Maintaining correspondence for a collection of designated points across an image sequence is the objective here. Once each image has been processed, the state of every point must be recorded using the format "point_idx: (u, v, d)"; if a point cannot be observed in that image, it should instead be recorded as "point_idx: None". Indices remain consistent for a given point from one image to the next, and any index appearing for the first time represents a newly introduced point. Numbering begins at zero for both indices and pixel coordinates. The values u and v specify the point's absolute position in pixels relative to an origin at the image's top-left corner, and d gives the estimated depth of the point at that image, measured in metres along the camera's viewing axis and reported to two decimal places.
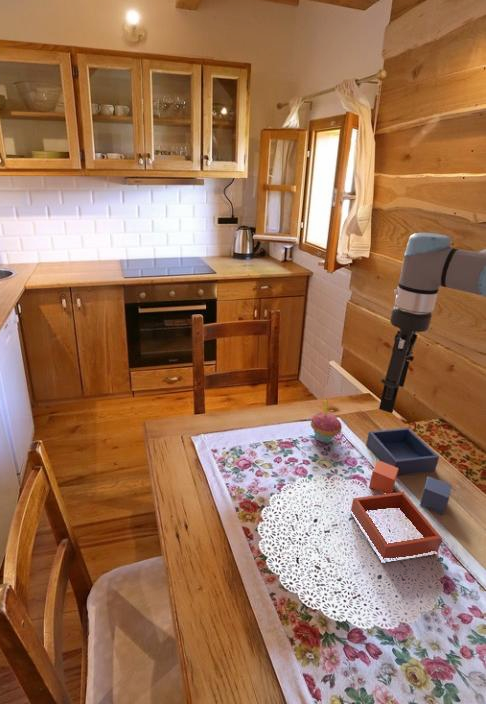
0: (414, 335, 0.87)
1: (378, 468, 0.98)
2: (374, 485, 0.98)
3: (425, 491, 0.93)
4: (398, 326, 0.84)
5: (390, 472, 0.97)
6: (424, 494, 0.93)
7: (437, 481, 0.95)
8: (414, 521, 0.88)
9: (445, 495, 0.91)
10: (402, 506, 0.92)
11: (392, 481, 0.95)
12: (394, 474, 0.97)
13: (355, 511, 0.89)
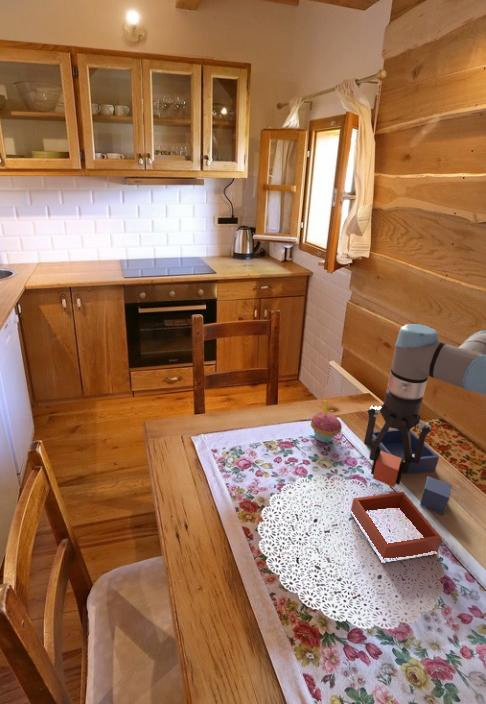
0: None
1: (381, 459, 0.97)
2: (378, 476, 0.97)
3: (425, 491, 0.93)
4: (416, 413, 0.89)
5: (394, 462, 0.96)
6: (424, 494, 0.93)
7: (437, 481, 0.95)
8: (414, 521, 0.88)
9: (445, 495, 0.91)
10: (402, 506, 0.92)
11: (396, 471, 0.94)
12: (398, 464, 0.96)
13: (355, 511, 0.89)
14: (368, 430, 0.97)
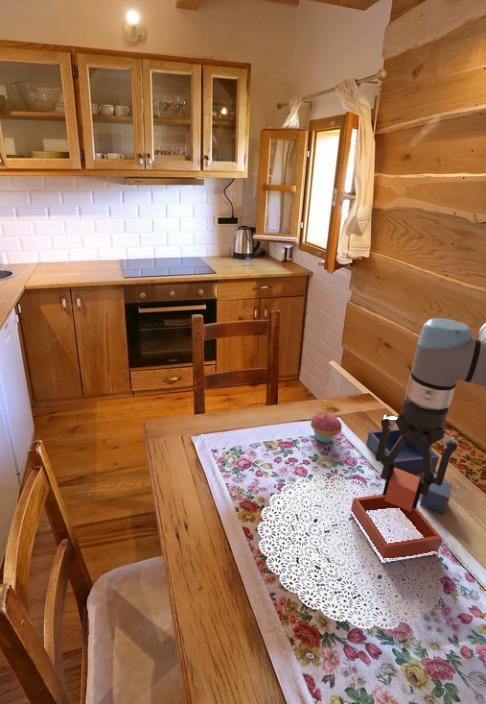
0: None
1: (395, 478, 0.82)
2: (391, 498, 0.82)
3: None
4: (441, 426, 0.74)
5: (411, 482, 0.81)
6: None
7: None
8: (414, 521, 0.88)
9: (445, 495, 0.91)
10: None
11: (413, 494, 0.79)
12: (415, 485, 0.80)
13: (355, 511, 0.89)
14: (381, 444, 0.81)
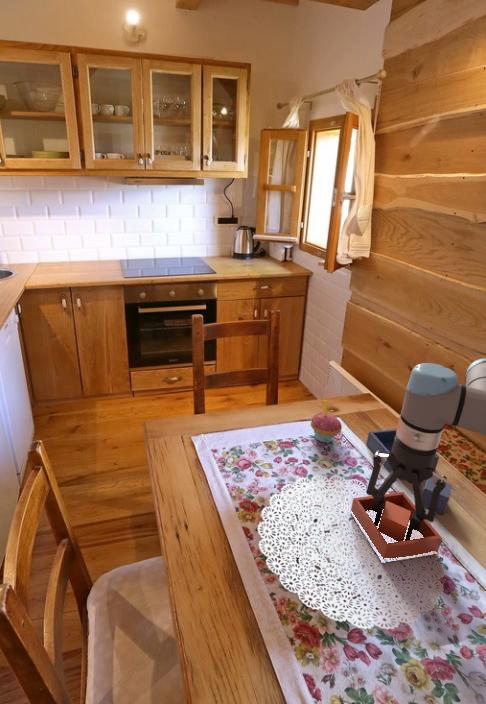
0: None
1: (387, 512, 0.85)
2: (383, 531, 0.85)
3: (425, 491, 0.93)
4: (430, 466, 0.77)
5: (402, 517, 0.84)
6: (424, 494, 0.93)
7: None
8: None
9: (445, 495, 0.91)
10: (402, 506, 0.92)
11: (404, 528, 0.82)
12: (406, 520, 0.84)
13: (355, 511, 0.89)
14: (372, 479, 0.85)
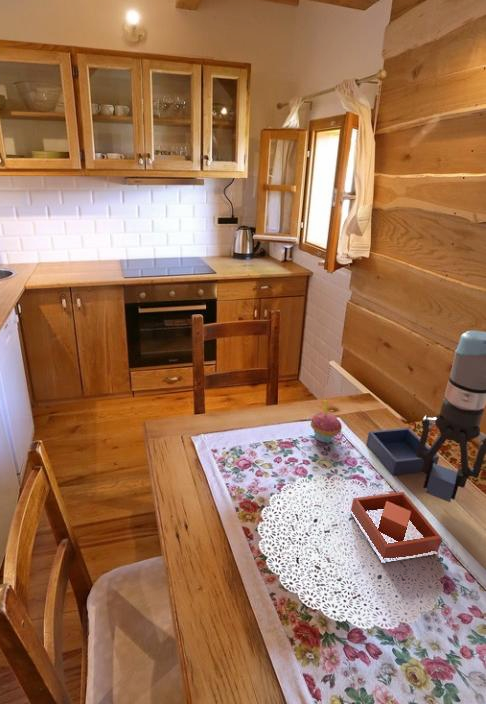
0: None
1: (387, 512, 0.85)
2: (383, 531, 0.85)
3: (431, 478, 0.91)
4: (477, 425, 0.84)
5: (402, 517, 0.84)
6: (430, 481, 0.92)
7: (443, 468, 0.94)
8: (414, 521, 0.88)
9: (451, 482, 0.90)
10: (402, 506, 0.92)
11: (404, 528, 0.82)
12: (406, 520, 0.84)
13: (355, 511, 0.89)
14: (421, 442, 0.92)
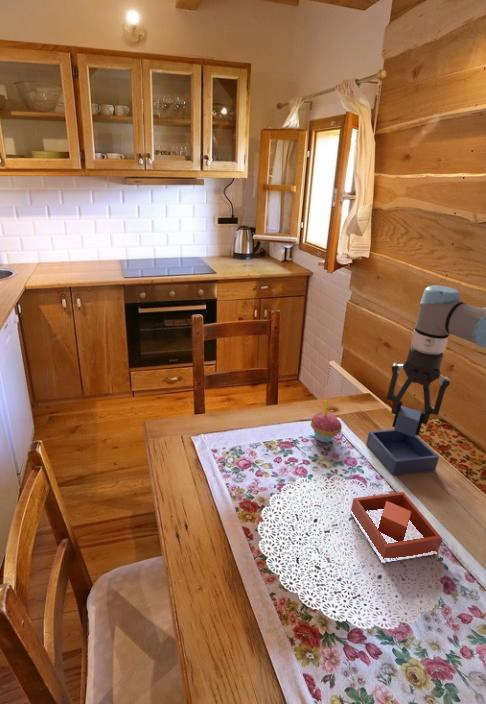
0: None
1: (387, 512, 0.85)
2: (383, 531, 0.85)
3: (398, 417, 1.05)
4: (437, 367, 0.97)
5: (402, 517, 0.84)
6: (397, 419, 1.05)
7: (410, 409, 1.07)
8: (414, 521, 0.88)
9: (416, 419, 1.03)
10: (402, 506, 0.92)
11: (404, 528, 0.82)
12: (406, 520, 0.84)
13: (355, 511, 0.89)
14: (391, 385, 1.05)
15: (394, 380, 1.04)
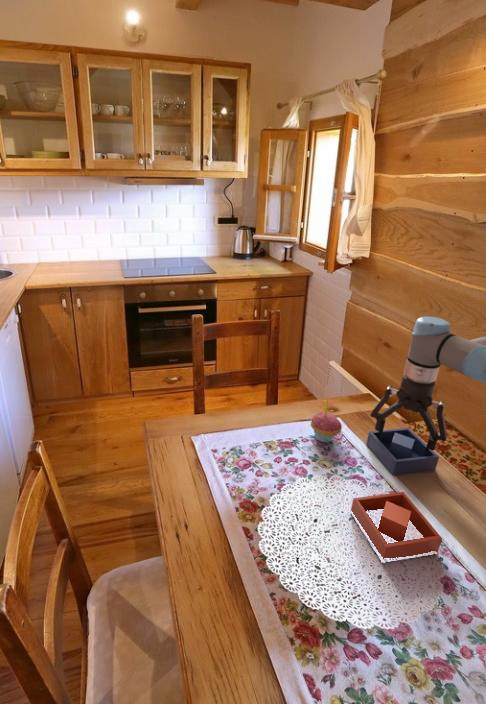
0: None
1: (387, 512, 0.85)
2: (383, 531, 0.85)
3: (392, 444, 1.08)
4: (429, 395, 1.00)
5: (402, 517, 0.84)
6: (391, 447, 1.08)
7: (403, 436, 1.10)
8: (414, 521, 0.88)
9: (409, 447, 1.06)
10: (402, 506, 0.92)
11: (404, 528, 0.82)
12: (406, 520, 0.84)
13: (355, 511, 0.89)
14: (379, 405, 1.08)
15: (383, 402, 1.07)
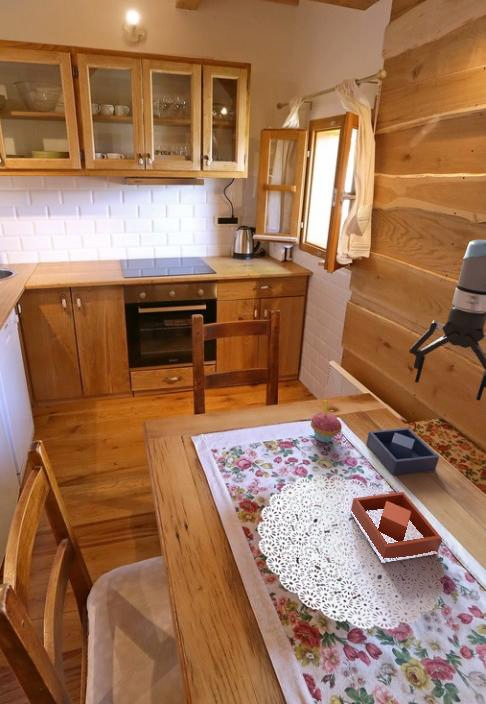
0: None
1: (387, 512, 0.85)
2: (383, 531, 0.85)
3: (392, 444, 1.08)
4: (482, 327, 0.92)
5: (402, 517, 0.84)
6: (391, 447, 1.08)
7: (403, 436, 1.10)
8: (414, 521, 0.88)
9: (409, 447, 1.06)
10: (402, 506, 0.92)
11: (404, 528, 0.82)
12: (406, 520, 0.84)
13: (355, 511, 0.89)
14: (421, 340, 1.00)
15: (427, 337, 0.99)
